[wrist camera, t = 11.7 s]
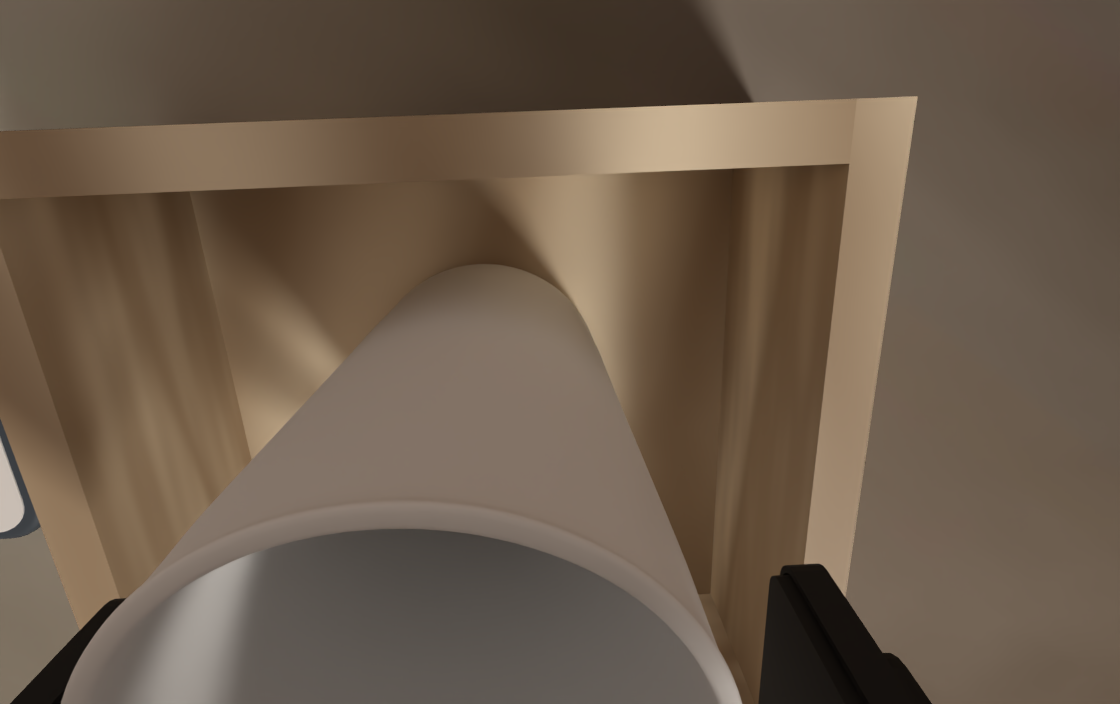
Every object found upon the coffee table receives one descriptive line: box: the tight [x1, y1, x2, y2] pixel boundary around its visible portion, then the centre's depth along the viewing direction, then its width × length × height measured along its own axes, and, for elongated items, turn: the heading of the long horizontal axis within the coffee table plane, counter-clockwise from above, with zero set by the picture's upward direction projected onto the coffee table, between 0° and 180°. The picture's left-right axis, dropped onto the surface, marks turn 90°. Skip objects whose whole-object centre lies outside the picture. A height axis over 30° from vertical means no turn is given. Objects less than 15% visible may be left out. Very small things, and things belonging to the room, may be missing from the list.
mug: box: [61, 264, 742, 704], centre depth 12 cm, size 10×7×12 cm, turn 165°
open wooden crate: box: [0, 96, 918, 704], centre depth 15 cm, size 16×16×7 cm
